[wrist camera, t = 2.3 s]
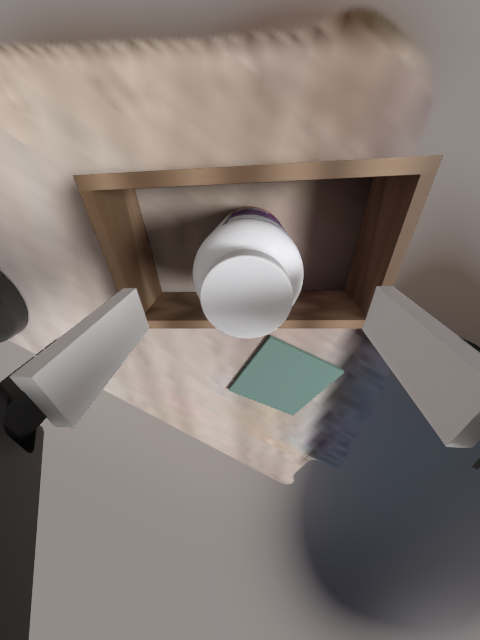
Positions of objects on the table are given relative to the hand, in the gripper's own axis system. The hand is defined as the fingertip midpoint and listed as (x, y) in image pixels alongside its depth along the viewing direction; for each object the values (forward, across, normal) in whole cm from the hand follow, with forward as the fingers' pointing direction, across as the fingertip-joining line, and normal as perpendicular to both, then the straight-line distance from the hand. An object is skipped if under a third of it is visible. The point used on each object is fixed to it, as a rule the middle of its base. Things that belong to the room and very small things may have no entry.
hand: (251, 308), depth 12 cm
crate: (+15, -1, 0) cm, 15 cm away
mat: (+15, +5, -23) cm, 28 cm away
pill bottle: (+15, -1, 0) cm, 15 cm away
